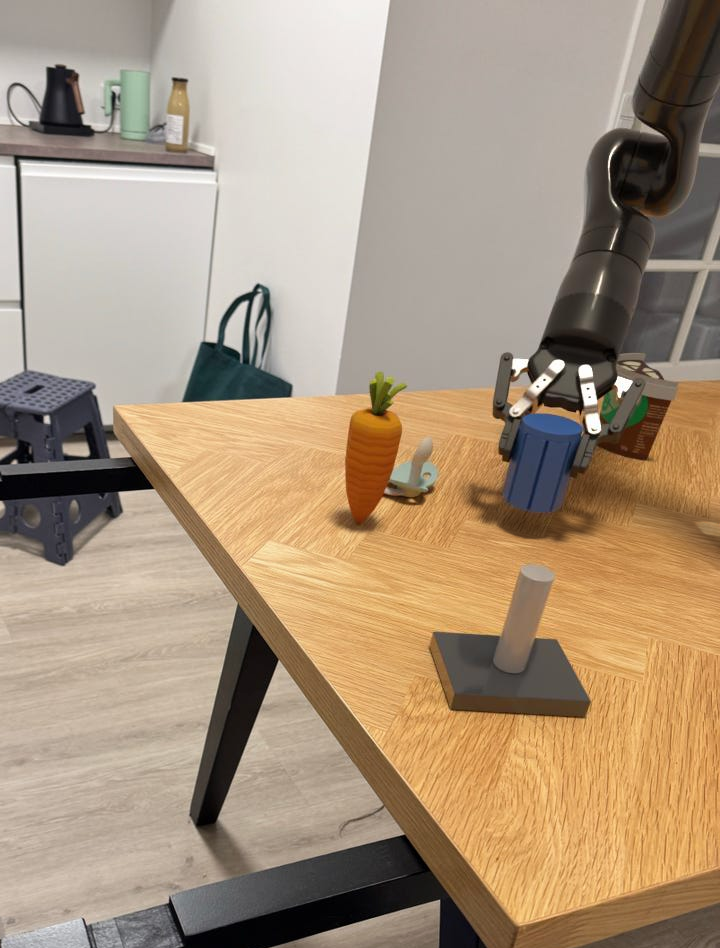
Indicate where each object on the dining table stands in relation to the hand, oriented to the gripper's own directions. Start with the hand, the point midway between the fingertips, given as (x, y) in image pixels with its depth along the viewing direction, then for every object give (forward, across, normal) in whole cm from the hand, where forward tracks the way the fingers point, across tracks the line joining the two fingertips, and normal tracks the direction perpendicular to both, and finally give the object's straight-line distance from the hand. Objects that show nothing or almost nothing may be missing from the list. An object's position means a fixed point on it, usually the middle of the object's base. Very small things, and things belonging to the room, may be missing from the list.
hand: (539, 465), depth 85 cm
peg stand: (+24, +4, -14) cm, 28 cm away
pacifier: (+3, -13, +7) cm, 15 cm away
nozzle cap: (+2, 0, +4) cm, 5 cm away
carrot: (+11, -15, 0) cm, 18 cm away
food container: (-18, +5, +29) cm, 35 cm away
